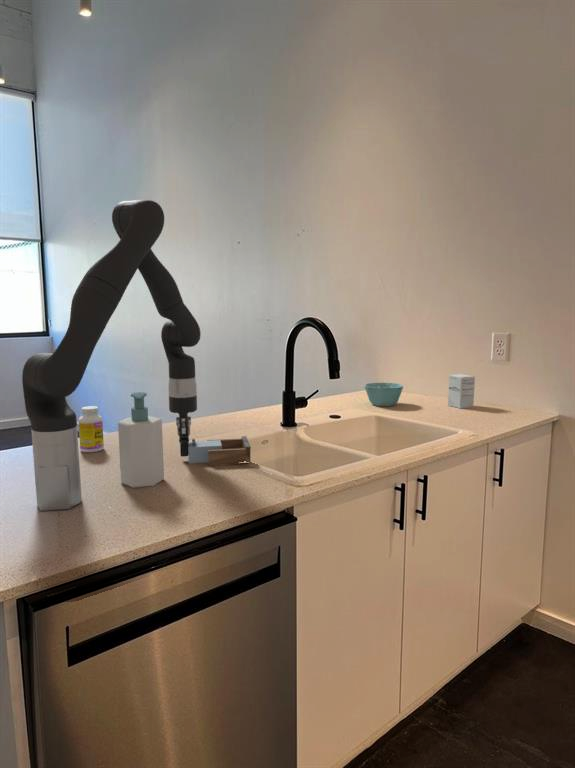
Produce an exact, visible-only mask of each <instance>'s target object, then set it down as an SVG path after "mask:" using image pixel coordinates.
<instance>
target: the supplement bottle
mask: <svg viewBox="0 0 575 768" xmlns="http://www.w3.org/2000/svg"><path fill="white" fill-rule="evenodd" d="M81 414H82V415H80V416H79V418H78V433H79V434H78V438H79V448H80V449H79V450H80V451H81V452H82V453H87V454H88V453H97V452H100V451H102V450H104V448H105V447H104V445H105V444H104V425H103V422H104V421H103V417H102V416H101V415H100V414H99V407H98V406H96V405H89V406H88V405H87V406H83V407H81Z"/></svg>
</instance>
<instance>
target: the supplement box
mask: <svg viewBox="0 0 575 768" xmlns="http://www.w3.org/2000/svg"><path fill="white" fill-rule="evenodd" d="M448 377H449V378H448V392H447V393H448V394H447V395H448V396H447V406H450V407H454V408H457V409H459V410H460V409H470V408H474V404H475V403H474V402H475V401H474V399H475V385H476V383H475V381H476V376H474V375H470V374H469V375H468V374H464V373H458V374H449V375H448Z"/></svg>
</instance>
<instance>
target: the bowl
mask: <svg viewBox="0 0 575 768" xmlns="http://www.w3.org/2000/svg"><path fill="white" fill-rule="evenodd" d="M363 386H364V390H365V392H366V395H367V398H368V400H369V403H371V404H372V405H373V406H375V407H393V406H395V405H397V404H398V402H399V400H400V396H401V394H402V393H403V389H404V385H403V384H401V383H396V382H384V381H383V382H369V383H365V384H364V385H363Z"/></svg>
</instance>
